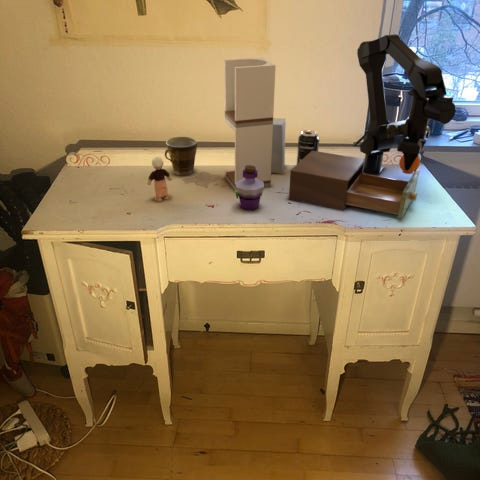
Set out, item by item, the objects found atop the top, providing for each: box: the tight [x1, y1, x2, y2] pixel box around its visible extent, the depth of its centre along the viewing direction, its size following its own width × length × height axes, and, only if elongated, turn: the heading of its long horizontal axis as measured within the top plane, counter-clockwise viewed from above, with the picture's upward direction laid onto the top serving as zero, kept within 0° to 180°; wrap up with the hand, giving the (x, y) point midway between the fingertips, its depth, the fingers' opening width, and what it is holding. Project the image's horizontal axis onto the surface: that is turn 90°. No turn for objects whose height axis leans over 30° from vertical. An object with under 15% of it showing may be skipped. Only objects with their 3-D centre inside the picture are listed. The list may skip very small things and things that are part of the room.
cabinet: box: [288, 150, 365, 211], centre depth 159 cm, size 19×17×9 cm
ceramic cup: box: [164, 136, 198, 176], centre depth 171 cm, size 13×10×10 cm
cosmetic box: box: [271, 117, 287, 175], centre depth 172 cm, size 8×7×16 cm
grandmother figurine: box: [146, 156, 173, 202], centre depth 154 cm, size 8×4×13 cm, turn 134°
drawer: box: [345, 168, 421, 219], centre depth 153 cm, size 18×18×8 cm
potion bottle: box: [235, 165, 265, 212], centre depth 150 cm, size 9×9×12 cm
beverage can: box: [296, 129, 320, 165], centre depth 174 cm, size 7×7×12 cm
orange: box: [399, 154, 421, 175], centre depth 160 cm, size 6×6×6 cm
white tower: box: [223, 57, 276, 192], centre depth 157 cm, size 11×11×35 cm
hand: (408, 166), depth 161 cm, fingers closed on orange, 6 cm apart
